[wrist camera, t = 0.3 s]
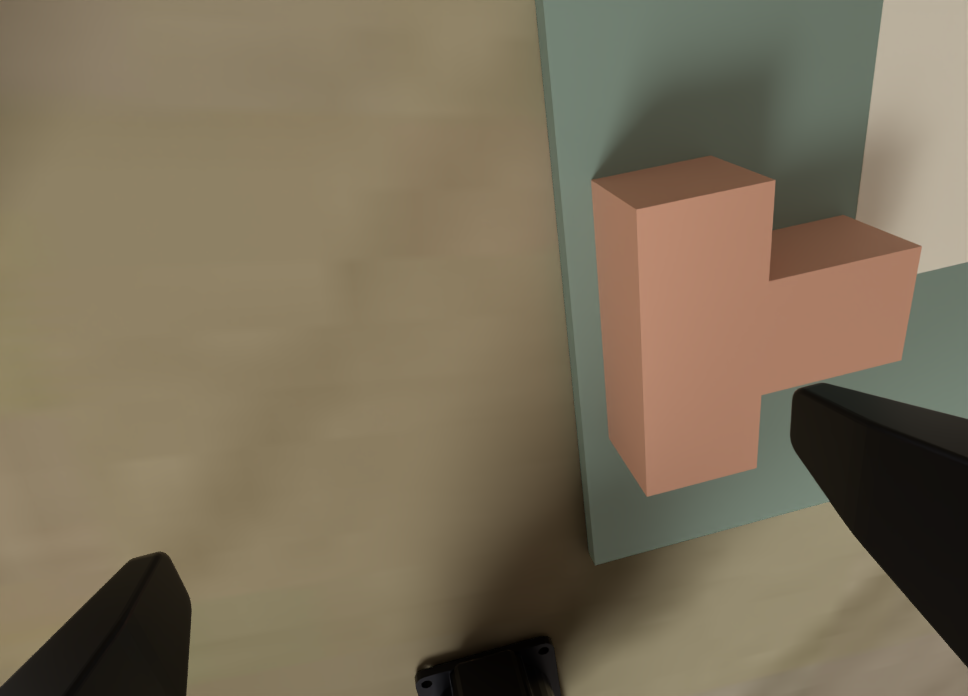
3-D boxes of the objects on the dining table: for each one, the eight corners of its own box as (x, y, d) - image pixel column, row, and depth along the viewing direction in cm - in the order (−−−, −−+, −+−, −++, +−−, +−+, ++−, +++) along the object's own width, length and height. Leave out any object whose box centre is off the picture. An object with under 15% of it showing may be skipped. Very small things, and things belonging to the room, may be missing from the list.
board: (1065, 423, 32) (1082, 432, 31) (588, 552, 29) (595, 565, 28) (1268, -176, 21) (1301, -182, 20) (529, -56, 18) (537, -59, 17)
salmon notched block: (823, 384, 26) (888, 433, 23) (608, 438, 25) (647, 496, 22) (853, 125, 21) (940, 144, 18) (590, 180, 20) (636, 209, 17)
